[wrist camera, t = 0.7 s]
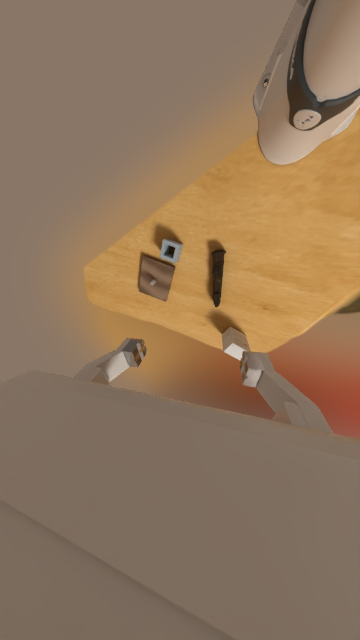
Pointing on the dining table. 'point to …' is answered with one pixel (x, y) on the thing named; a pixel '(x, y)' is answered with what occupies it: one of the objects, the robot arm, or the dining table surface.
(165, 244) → the collar
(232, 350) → the small box
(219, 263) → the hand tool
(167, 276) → the mounting plate
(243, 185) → the dining table surface
